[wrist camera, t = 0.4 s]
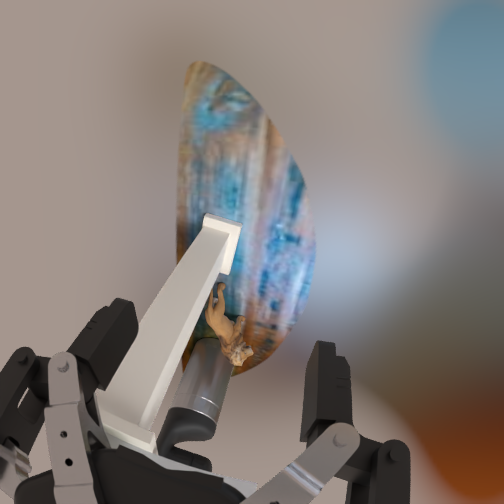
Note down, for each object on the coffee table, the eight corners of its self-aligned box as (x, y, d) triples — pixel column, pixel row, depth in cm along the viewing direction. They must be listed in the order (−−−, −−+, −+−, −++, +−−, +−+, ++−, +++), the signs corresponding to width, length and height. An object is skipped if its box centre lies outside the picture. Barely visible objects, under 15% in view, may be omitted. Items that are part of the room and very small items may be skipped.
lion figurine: (262, 329, 53) (254, 367, 46) (239, 336, 56) (229, 372, 48) (217, 272, 48) (200, 308, 40) (194, 282, 50) (175, 317, 43)
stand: (231, 271, 47) (155, 465, 20) (197, 260, 47) (99, 439, 20) (243, 224, 42) (149, 442, 15) (205, 212, 42) (75, 405, 15)
